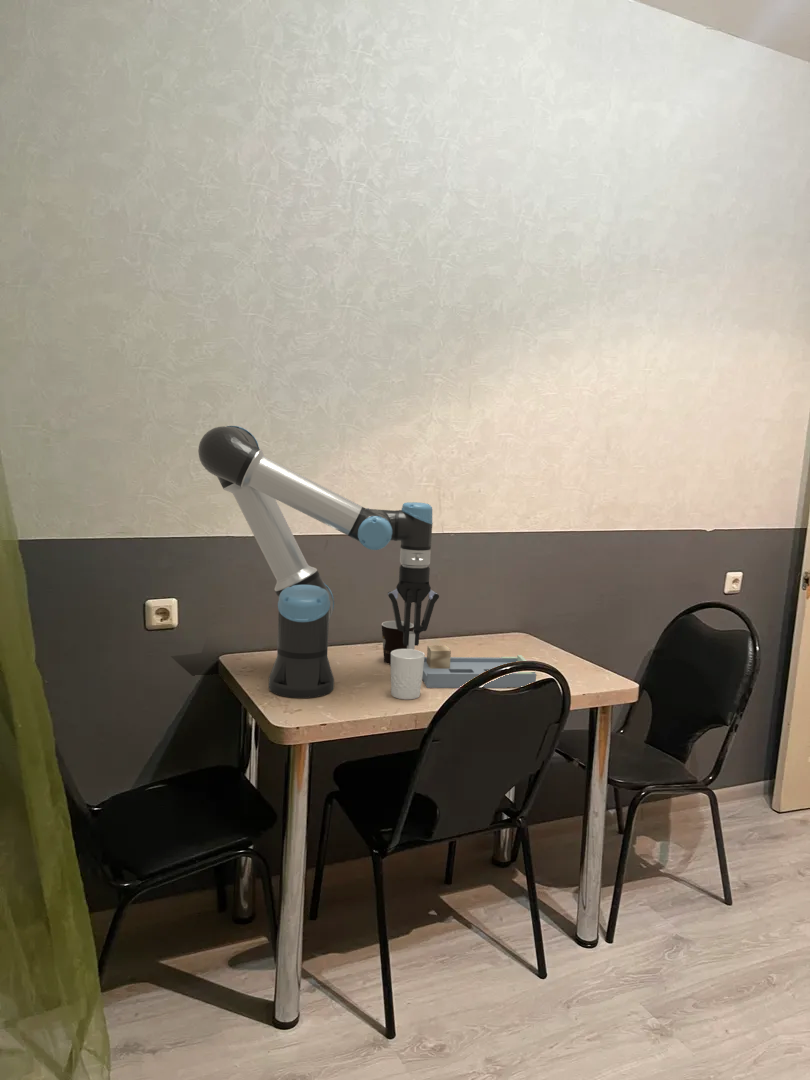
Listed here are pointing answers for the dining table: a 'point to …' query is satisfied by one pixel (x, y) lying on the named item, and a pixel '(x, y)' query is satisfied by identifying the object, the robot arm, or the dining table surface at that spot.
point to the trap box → (474, 672)
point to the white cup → (406, 673)
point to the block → (438, 656)
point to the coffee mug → (392, 639)
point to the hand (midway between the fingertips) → (410, 657)
